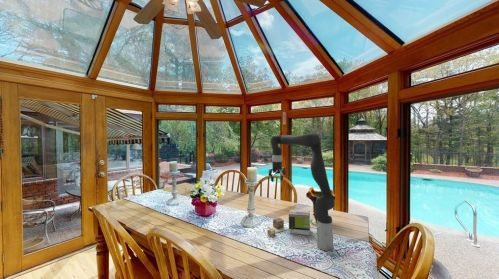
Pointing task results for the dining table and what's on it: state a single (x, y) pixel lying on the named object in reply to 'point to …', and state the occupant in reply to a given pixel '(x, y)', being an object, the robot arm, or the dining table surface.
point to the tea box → (299, 222)
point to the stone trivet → (279, 229)
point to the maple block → (271, 232)
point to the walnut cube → (278, 223)
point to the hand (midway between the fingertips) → (277, 181)
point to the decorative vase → (313, 196)
